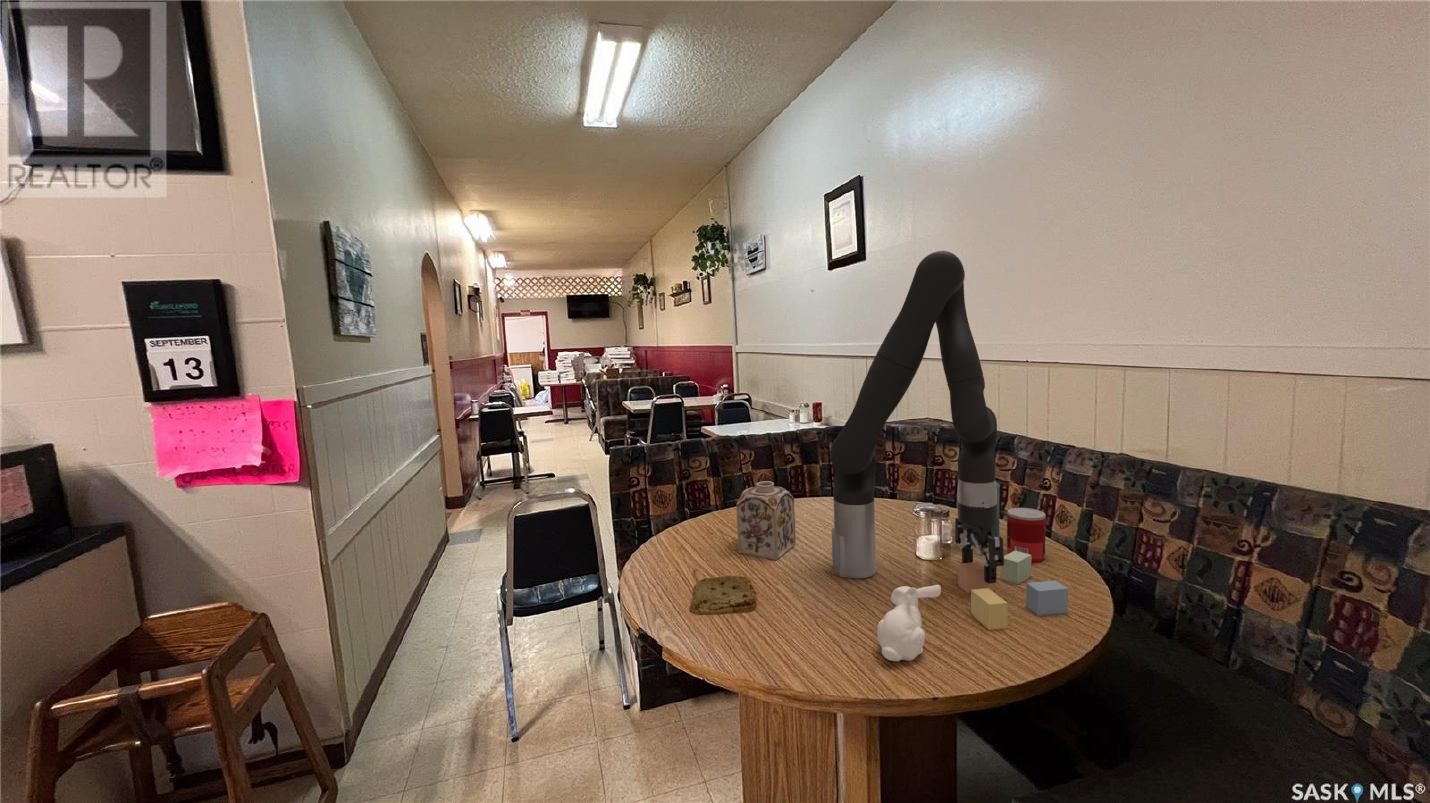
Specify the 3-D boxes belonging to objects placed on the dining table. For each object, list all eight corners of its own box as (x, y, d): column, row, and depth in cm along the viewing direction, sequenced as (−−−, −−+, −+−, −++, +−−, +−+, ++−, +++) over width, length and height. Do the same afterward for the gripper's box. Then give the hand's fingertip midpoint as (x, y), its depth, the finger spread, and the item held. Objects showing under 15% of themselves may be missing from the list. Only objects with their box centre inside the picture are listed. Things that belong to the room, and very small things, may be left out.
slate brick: (1038, 615, 103) (1038, 591, 102) (1026, 607, 106) (1026, 582, 106) (1067, 613, 103) (1068, 588, 103) (1054, 604, 107) (1055, 580, 106)
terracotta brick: (966, 592, 113) (966, 570, 113) (958, 585, 117) (958, 563, 116) (994, 590, 114) (994, 568, 113) (984, 583, 117) (984, 561, 117)
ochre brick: (1007, 628, 99) (1007, 602, 99) (989, 630, 99) (989, 604, 98) (988, 612, 105) (988, 588, 105) (971, 614, 105) (971, 589, 104)
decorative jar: (797, 545, 144) (794, 479, 142) (778, 561, 134) (775, 491, 132) (757, 538, 150) (754, 475, 148) (736, 553, 141) (733, 486, 139)
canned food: (1052, 562, 126) (1052, 516, 124) (1017, 563, 126) (1017, 518, 125) (1033, 549, 133) (1034, 506, 132) (1000, 551, 133) (1001, 508, 132)
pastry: (723, 575, 129) (722, 563, 128) (779, 597, 116) (779, 584, 116) (667, 602, 117) (666, 589, 116) (723, 629, 104) (723, 615, 104)
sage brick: (1017, 584, 116) (1017, 562, 115) (1001, 579, 119) (1001, 557, 118) (1031, 576, 119) (1031, 555, 119) (1015, 571, 122) (1015, 550, 122)
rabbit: (892, 628, 101) (892, 567, 100) (945, 643, 95) (945, 579, 94) (867, 660, 92) (866, 593, 90) (924, 679, 86) (923, 608, 84)
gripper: (942, 492, 120) (944, 562, 122) (979, 511, 106) (981, 590, 108) (975, 489, 121) (976, 559, 122) (1015, 508, 107) (1016, 586, 108)
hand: (978, 573), depth 115 cm, fingers open, 8 cm apart
